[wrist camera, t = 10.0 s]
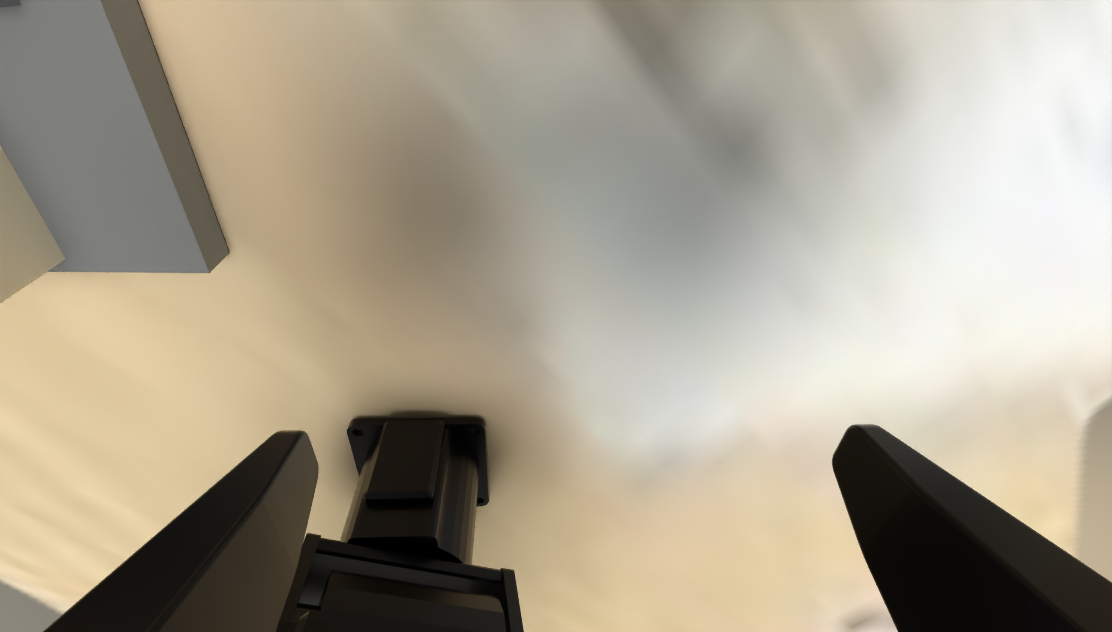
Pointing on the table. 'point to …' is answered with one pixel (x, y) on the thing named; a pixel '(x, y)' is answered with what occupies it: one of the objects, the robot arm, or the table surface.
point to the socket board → (93, 149)
